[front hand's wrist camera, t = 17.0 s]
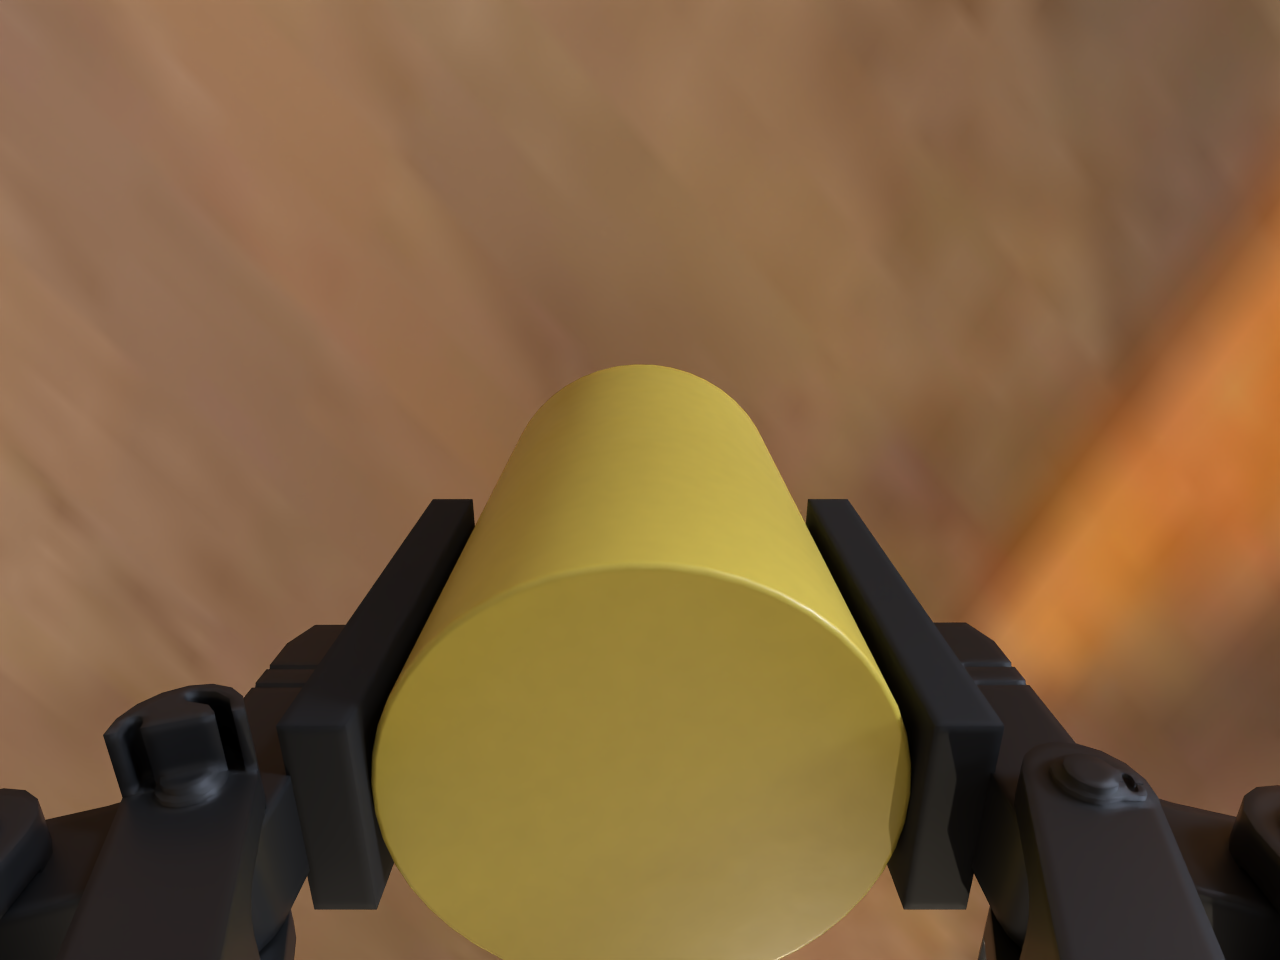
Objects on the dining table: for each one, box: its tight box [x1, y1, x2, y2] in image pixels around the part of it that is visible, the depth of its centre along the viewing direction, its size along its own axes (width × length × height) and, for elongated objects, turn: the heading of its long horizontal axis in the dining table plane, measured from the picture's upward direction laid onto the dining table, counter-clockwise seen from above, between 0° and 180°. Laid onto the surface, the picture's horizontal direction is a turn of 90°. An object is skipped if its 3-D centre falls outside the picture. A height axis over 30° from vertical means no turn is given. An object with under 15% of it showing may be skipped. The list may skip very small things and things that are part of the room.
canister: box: [371, 364, 911, 960], centre depth 13 cm, size 6×6×10 cm
